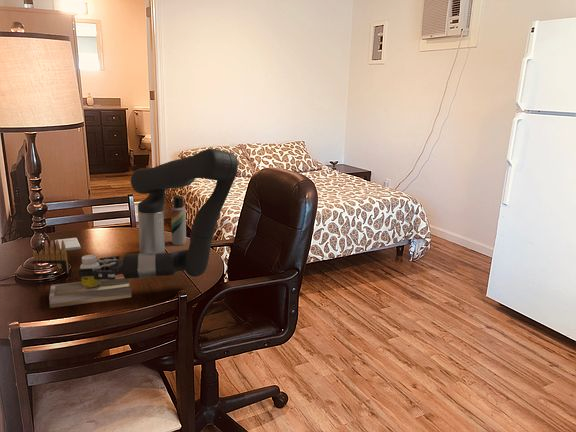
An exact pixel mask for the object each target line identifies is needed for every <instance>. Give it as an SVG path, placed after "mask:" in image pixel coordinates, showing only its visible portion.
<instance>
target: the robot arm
mask: <svg viewBox="0 0 576 432" xmlns="http://www.w3.org/2000/svg"><path fill="white" fill-rule="evenodd" d="M238 168H239V161H238V158H237V156H236V155H235V154H234V153H232V152H228V151H226V150H221V149H216V148H207V149H204V150H202V151H200V152H198V153H195V154H193V155H190V156H186V157H183V158H179V159H174V160H171V161H167V162H165V163H162V164H159V165H157V166H154V167H145V168H139V169H136V170H134V171H133V172H132V174H131V177H130V185H131V188H132V189H133V190H134V191H135V192H136V193H138V194H142V195H147V194H148V196H147V197H146V198H144V199H142V200H141V201H139V202H138V204H137V215H138V216H137V219H138V238H139V241H138V242H139V253H127V254H126V253H125V254H124V255H123V257H122V259H121V257H120V255H114V256H113V255H112V256H106V257H99V259H97V261H96V262H98V263H99V265H100V267H98V268H93V269H92V268H89V269H80V268H79V269H78V271H77V273H78V277H80V278H81V277H87V276H93V277H94V279H95V280H114V279H115V278H116V276H119V275H123V277H124V278H125V279H129V280H131V279H133V280H134V279H147V278H153V277H162V276H163V277H164V276H165V277H166V276H173V275H174V274H175V273H177V272H183V271H185V272H186V274H187V275H189V276H191V277H195V278H196V277H200V276H202V275H203V274H204V273H205V272H206V270H207V269H208V264H209V260H210V252H211V247H212V242H213V239H214V236H215V232H216V228H217V223H218V220H219V217H220V214H221V212H222V210H223V206H225V202H226V200H227V199H228V198H227V197H228V196H229V193H230V191H231V188H232V186H233V185H234V184H233V183H234V181H235V179H236V177H237V172H238ZM196 179H204V180H205V179H206V180H210V181H211V180H212V181H216V182H215V183H216V184H215V187H214V189H213V191H212V193H211V194H210V196H209V198H207V200H206V201H205V202H204V204H202V206H201V207H200V208H199V210H198V211H197V213H196V214H195V217H194V220H193V222H192V227H191V232H190V235H189V245H188V249H183V250H182V249H181V250H177V251H173V252H166V248H165V246H166V245H165V242H166V241H165V217H164V216H165V215H164V214H165V213H164V210H165V209H164V206H165V202H166V189H178V188H185V187H187V186H190V185H192V184H193V182H194V181H195V180H196ZM81 264H83V263H82V262H81ZM98 273H99V274H98ZM100 276H101V277H100Z"/></svg>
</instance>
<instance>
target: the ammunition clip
mask: <svg viewBox="0 0 576 432" xmlns="http://www.w3.org/2000/svg"><path fill="white" fill-rule="evenodd" d="M56 240H57V241H56V244H55V242H54V240H53V239H51V240H50V242H48V240H47V239H45V241H44V246H43V248H44V249H43V250H44V251H43V250H42V249H41V251H40V252H39V251H38V253H39V254H38V253H37V251H36V250H34V249H33V248H32V258H33V261H32V264H33V263H36V262H46V263H50V264H52V265H57V267H58V268H59V269H63V271H64V272H65V273H66V274H67V275H69V274H70V268H69V267H70V266H69V261H68V254H67V253H68V251H66V248H65V243H64V241H63V240H62V243H61V251H60V245H59V242H58V240H59V239H56ZM41 242H42V239H40V240H39V241H38V245H39V244H41ZM44 260H45V261H44Z"/></svg>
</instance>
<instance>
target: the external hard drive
mask: <svg viewBox="0 0 576 432" xmlns="http://www.w3.org/2000/svg"><path fill="white" fill-rule="evenodd" d="M57 240H58V242H59V245H60V251H61V243H62V240H63V241H64V243H65V248H66V252H68V251H74V250H81V248H82V246H81V245H80V243H79V240H78V238H77V237H71V238H62V239H55V240H54V245H56V241H57Z"/></svg>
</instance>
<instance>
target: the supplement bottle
mask: <svg viewBox="0 0 576 432" xmlns="http://www.w3.org/2000/svg"><path fill="white" fill-rule="evenodd" d="M97 260H98V259H97V256H96V255H95V254H85V255H83V256H82V257H81V264H80V266H79V269H89V268H92V269H93V268H98V267H100V265H99V263H98V262H96V261H97ZM82 263H83V264H82ZM98 274H99V273H98ZM100 277H102V276H100ZM80 279H81V281H80V282H82V288H83V289H84V290H88V291H90V290H96V289H98V288H100V287H101V280H95V279H94V277H93V276H87V277H80Z"/></svg>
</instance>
